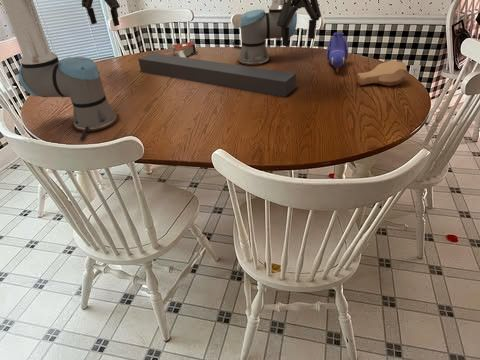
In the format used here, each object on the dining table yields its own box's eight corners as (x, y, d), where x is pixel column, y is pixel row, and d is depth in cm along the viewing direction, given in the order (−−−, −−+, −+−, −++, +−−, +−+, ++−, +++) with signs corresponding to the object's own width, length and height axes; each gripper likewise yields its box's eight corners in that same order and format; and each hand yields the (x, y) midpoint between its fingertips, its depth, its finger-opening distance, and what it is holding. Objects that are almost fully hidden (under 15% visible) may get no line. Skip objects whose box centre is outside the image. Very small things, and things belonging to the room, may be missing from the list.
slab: (140, 71, 178) (138, 58, 174) (154, 65, 185) (152, 52, 181) (285, 97, 143) (285, 81, 139) (295, 88, 150) (296, 73, 146)
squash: (410, 86, 145) (414, 66, 139) (360, 95, 147) (362, 76, 141) (400, 73, 153) (404, 53, 146) (353, 81, 155) (354, 62, 148)
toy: (325, 68, 179) (325, 75, 157) (327, 32, 172) (327, 34, 150) (346, 67, 177) (349, 74, 155) (348, 31, 170) (351, 33, 148)
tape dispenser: (183, 66, 184) (206, 53, 197) (182, 56, 181) (205, 43, 193) (158, 60, 192) (181, 48, 204) (156, 51, 188) (180, 38, 201)
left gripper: (120, -31, 146) (132, 24, 159) (76, -31, 156) (91, 21, 169) (107, -28, 141) (120, 28, 154) (63, -29, 151) (79, 25, 163)
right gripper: (281, -17, 114) (280, 51, 127) (334, -26, 126) (328, 37, 138) (266, -18, 119) (267, 47, 132) (318, -27, 131) (314, 33, 143)
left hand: (105, 24), depth 161 cm, fingers open, 13 cm apart
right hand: (298, 42), depth 135 cm, fingers open, 13 cm apart
